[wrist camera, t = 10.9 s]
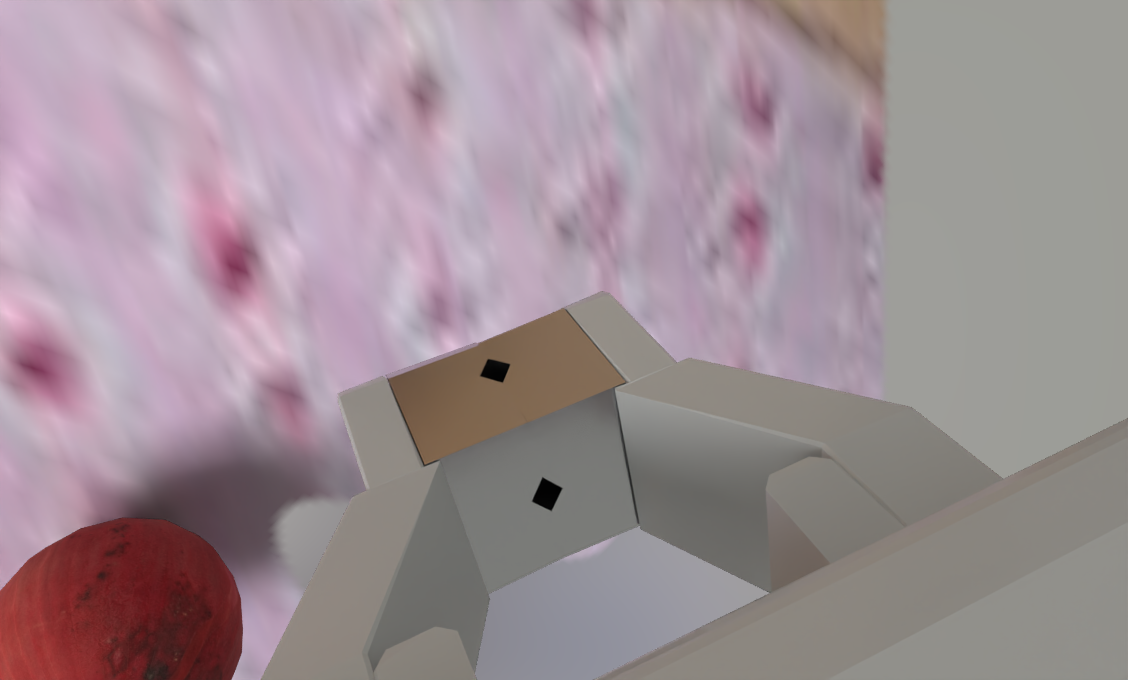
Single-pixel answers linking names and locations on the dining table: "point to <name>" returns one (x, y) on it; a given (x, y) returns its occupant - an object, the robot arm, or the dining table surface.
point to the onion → (122, 608)
